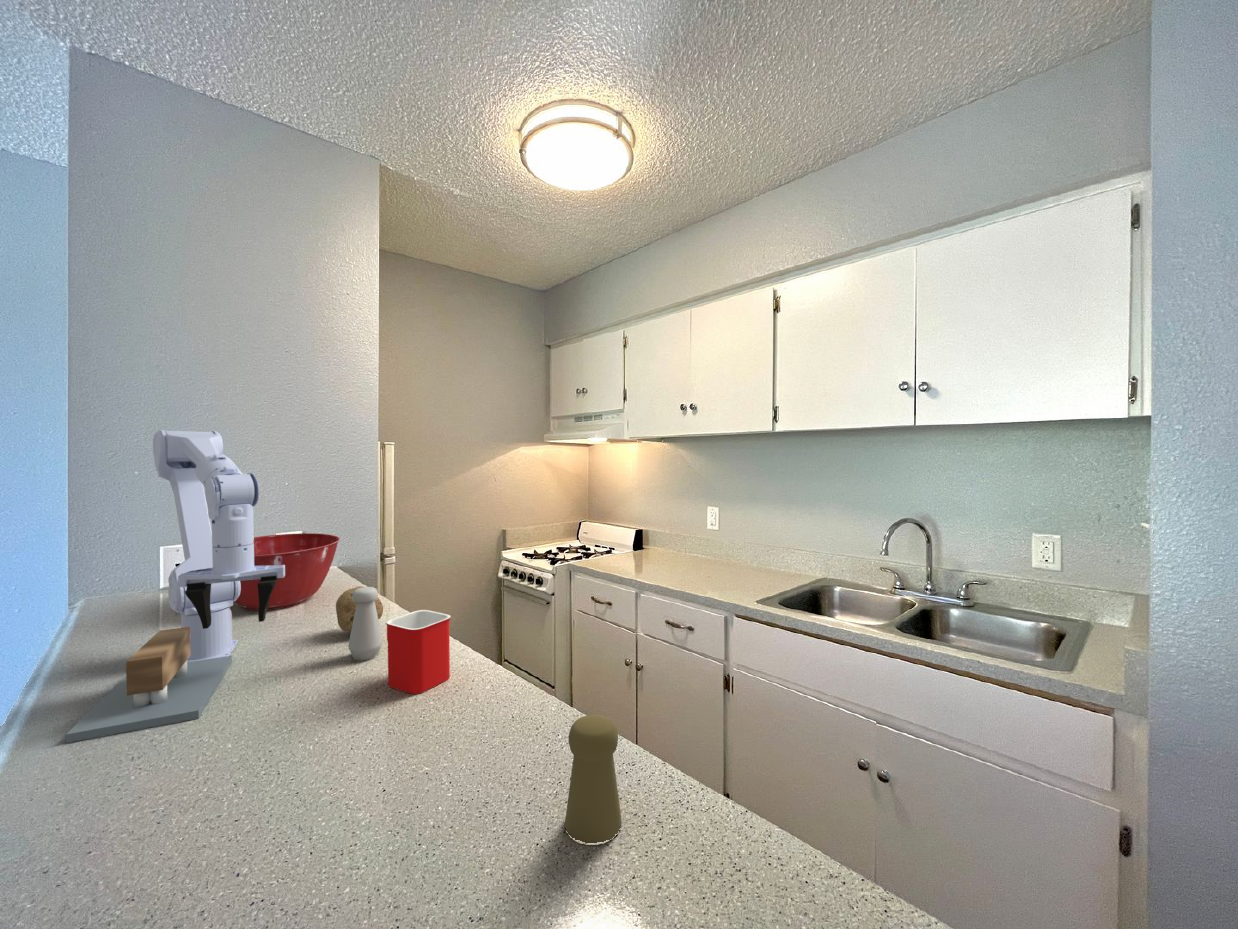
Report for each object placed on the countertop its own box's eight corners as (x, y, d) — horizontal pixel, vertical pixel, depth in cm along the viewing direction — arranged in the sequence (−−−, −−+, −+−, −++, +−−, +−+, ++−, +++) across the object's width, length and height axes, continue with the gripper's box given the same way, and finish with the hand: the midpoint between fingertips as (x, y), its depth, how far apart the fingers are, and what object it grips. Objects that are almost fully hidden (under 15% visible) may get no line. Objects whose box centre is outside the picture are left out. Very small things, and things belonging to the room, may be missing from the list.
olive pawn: (565, 805, 57) (565, 708, 56) (619, 802, 57) (619, 705, 57) (563, 848, 51) (563, 739, 50) (624, 844, 51) (624, 736, 51)
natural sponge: (385, 624, 115) (385, 580, 115) (380, 638, 106) (380, 590, 106) (340, 628, 112) (339, 583, 112) (331, 643, 104) (330, 594, 103)
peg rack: (131, 677, 88) (131, 656, 88) (232, 662, 94) (231, 642, 94) (66, 743, 68) (65, 716, 68) (198, 718, 75) (198, 693, 75)
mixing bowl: (296, 621, 117) (295, 554, 116) (172, 620, 117) (171, 553, 116) (360, 587, 145) (360, 533, 144) (261, 587, 145) (259, 533, 145)
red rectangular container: (455, 677, 89) (455, 616, 88) (416, 697, 81) (415, 631, 81) (408, 662, 94) (408, 605, 94) (367, 680, 87) (366, 618, 87)
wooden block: (160, 659, 86) (159, 630, 86) (190, 655, 88) (189, 626, 88) (126, 695, 74) (125, 661, 74) (162, 690, 76) (161, 656, 76)
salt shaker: (368, 664, 94) (367, 593, 93) (341, 661, 95) (340, 591, 94) (389, 651, 99) (388, 585, 99) (363, 649, 101) (362, 583, 100)
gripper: (170, 552, 81) (173, 638, 81) (280, 545, 87) (282, 624, 88) (184, 545, 87) (186, 624, 87) (286, 538, 93) (287, 612, 94)
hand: (235, 623), depth 88 cm, fingers open, 7 cm apart
